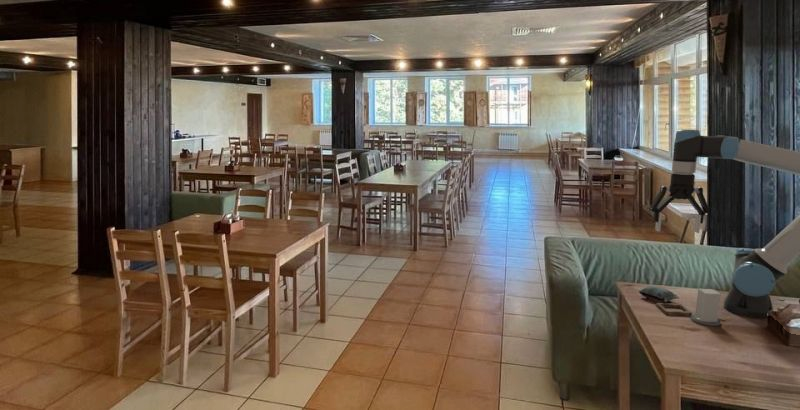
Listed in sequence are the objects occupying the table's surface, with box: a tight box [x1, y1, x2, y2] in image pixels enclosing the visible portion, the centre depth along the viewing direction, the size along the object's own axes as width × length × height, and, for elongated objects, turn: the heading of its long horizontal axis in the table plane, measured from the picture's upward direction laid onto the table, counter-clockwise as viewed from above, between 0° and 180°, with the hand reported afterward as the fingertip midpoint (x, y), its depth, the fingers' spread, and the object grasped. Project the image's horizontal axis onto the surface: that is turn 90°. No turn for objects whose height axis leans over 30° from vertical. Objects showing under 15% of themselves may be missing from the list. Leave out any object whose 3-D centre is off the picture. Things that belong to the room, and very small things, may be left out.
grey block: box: [694, 288, 721, 322], centre depth 184 cm, size 5×5×10 cm
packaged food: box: [638, 284, 680, 303], centre depth 206 cm, size 9×12×5 cm
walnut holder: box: [655, 302, 693, 317], centre depth 194 cm, size 9×9×1 cm
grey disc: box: [690, 313, 721, 327], centre depth 185 cm, size 9×9×1 cm
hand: (676, 231), depth 193 cm, fingers open, 13 cm apart
